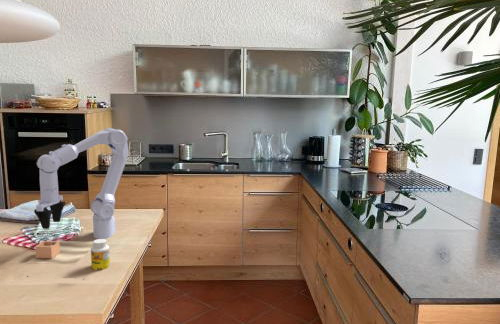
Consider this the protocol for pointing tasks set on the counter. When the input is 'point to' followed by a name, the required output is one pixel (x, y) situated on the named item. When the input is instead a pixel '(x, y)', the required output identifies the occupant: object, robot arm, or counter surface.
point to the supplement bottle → (100, 255)
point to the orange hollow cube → (47, 249)
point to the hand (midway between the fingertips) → (51, 225)
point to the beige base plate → (67, 253)
